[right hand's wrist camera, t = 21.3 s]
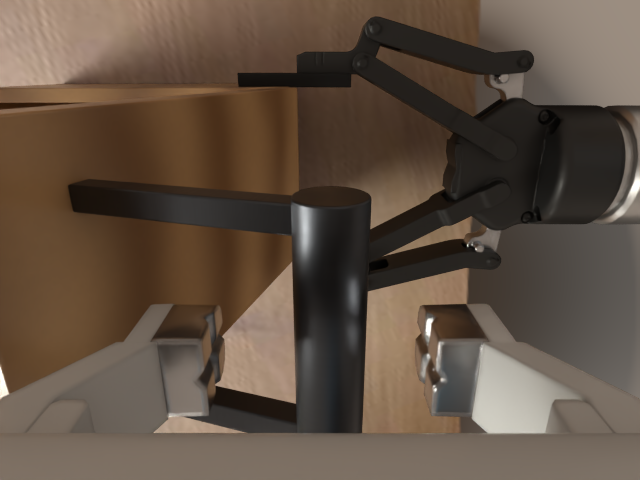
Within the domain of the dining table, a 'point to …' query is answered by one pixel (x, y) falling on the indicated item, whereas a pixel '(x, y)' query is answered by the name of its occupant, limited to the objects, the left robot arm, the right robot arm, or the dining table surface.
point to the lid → (180, 241)
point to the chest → (101, 93)
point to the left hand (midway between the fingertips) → (246, 165)
